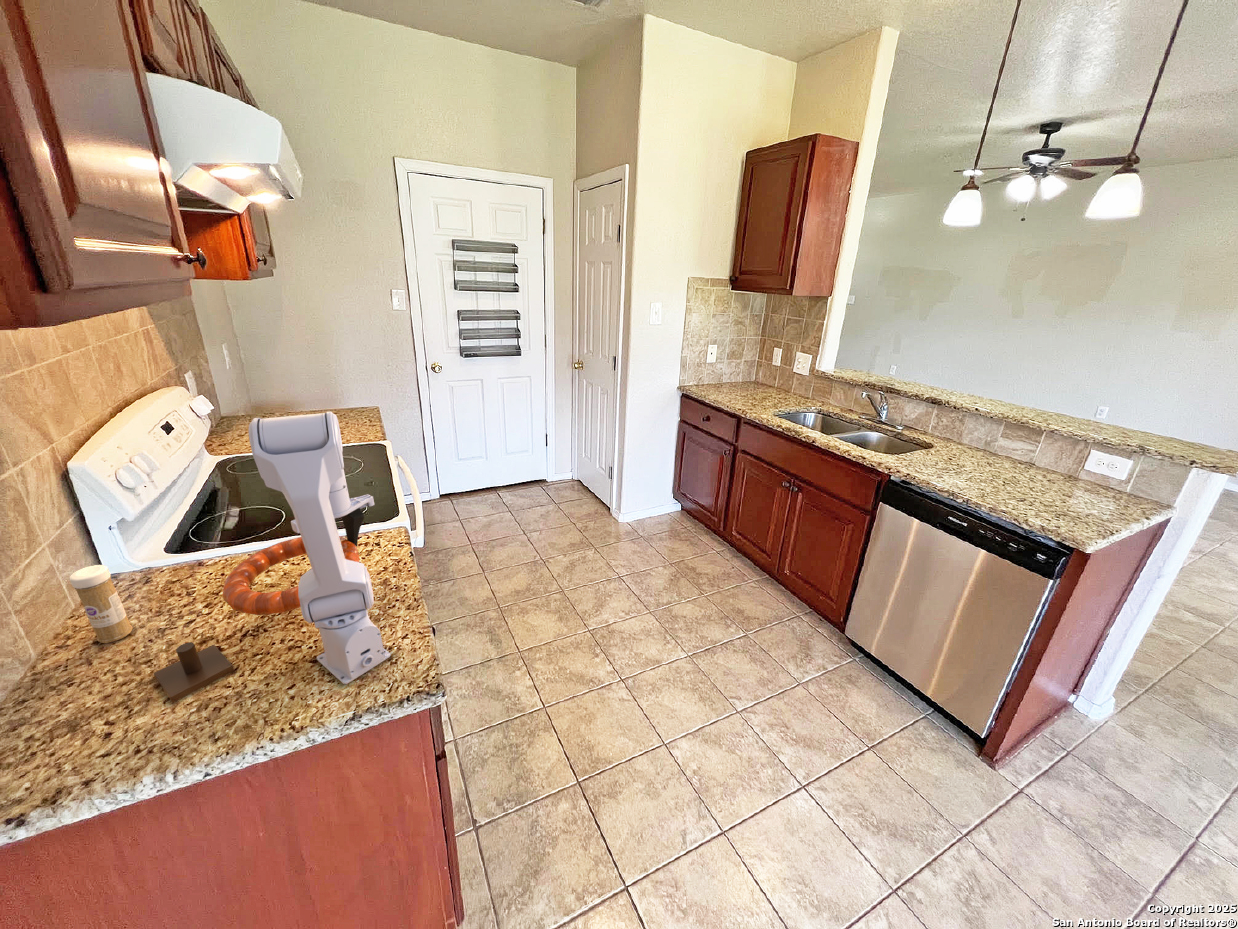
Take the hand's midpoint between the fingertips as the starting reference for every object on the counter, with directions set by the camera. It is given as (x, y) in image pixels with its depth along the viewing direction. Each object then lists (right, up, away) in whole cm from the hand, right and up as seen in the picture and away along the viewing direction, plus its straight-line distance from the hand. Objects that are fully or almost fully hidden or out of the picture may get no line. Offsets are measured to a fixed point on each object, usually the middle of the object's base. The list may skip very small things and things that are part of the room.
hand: (342, 549), depth 97 cm
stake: (-14, -17, -17) cm, 28 cm away
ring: (-5, -3, -7) cm, 9 cm away
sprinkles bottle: (-35, -14, -10) cm, 39 cm away
